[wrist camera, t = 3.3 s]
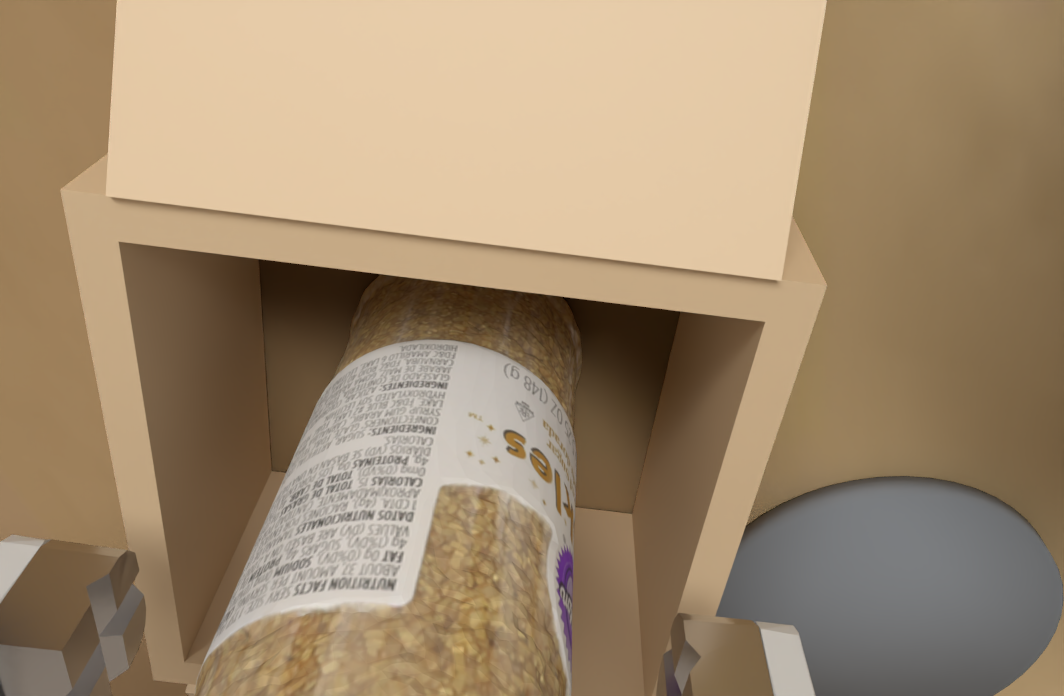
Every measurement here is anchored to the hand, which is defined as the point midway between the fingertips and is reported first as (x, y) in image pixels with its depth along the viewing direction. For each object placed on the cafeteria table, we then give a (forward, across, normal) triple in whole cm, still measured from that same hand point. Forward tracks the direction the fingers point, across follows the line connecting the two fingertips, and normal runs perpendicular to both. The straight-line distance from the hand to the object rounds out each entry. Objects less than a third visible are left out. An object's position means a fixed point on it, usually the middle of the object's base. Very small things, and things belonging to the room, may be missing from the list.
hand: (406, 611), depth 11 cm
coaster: (+7, +10, -6) cm, 13 cm away
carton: (+7, 0, 0) cm, 7 cm away
